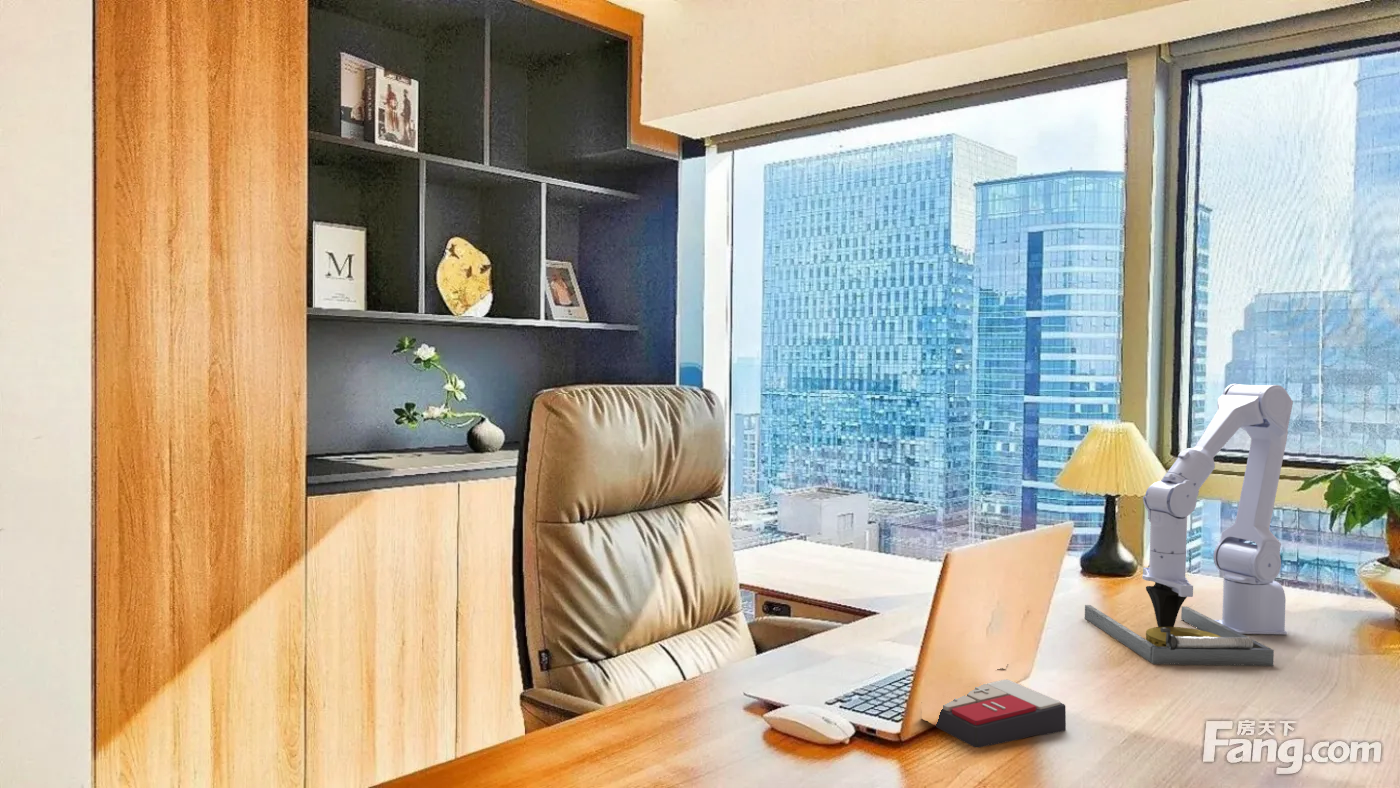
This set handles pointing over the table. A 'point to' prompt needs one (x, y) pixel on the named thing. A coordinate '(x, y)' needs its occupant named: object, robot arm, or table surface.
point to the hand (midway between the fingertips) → (1165, 628)
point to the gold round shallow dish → (1159, 637)
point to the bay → (1184, 654)
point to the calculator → (1001, 714)
